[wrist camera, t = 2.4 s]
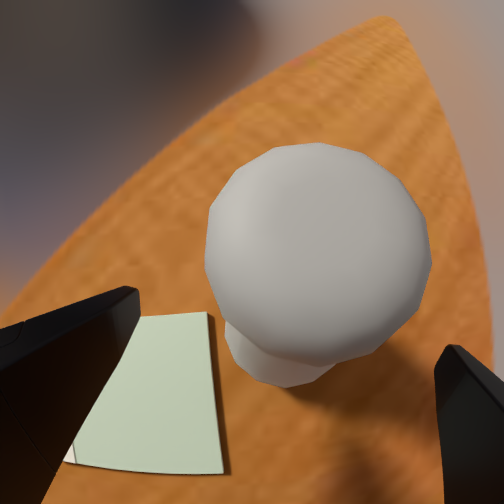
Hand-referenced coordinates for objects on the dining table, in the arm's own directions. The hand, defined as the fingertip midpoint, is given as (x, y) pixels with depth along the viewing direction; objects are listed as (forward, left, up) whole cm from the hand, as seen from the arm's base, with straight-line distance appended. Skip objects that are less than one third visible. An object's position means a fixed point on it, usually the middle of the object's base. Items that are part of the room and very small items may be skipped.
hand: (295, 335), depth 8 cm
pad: (-2, +8, -9) cm, 12 cm away
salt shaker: (+1, 0, -9) cm, 9 cm away
